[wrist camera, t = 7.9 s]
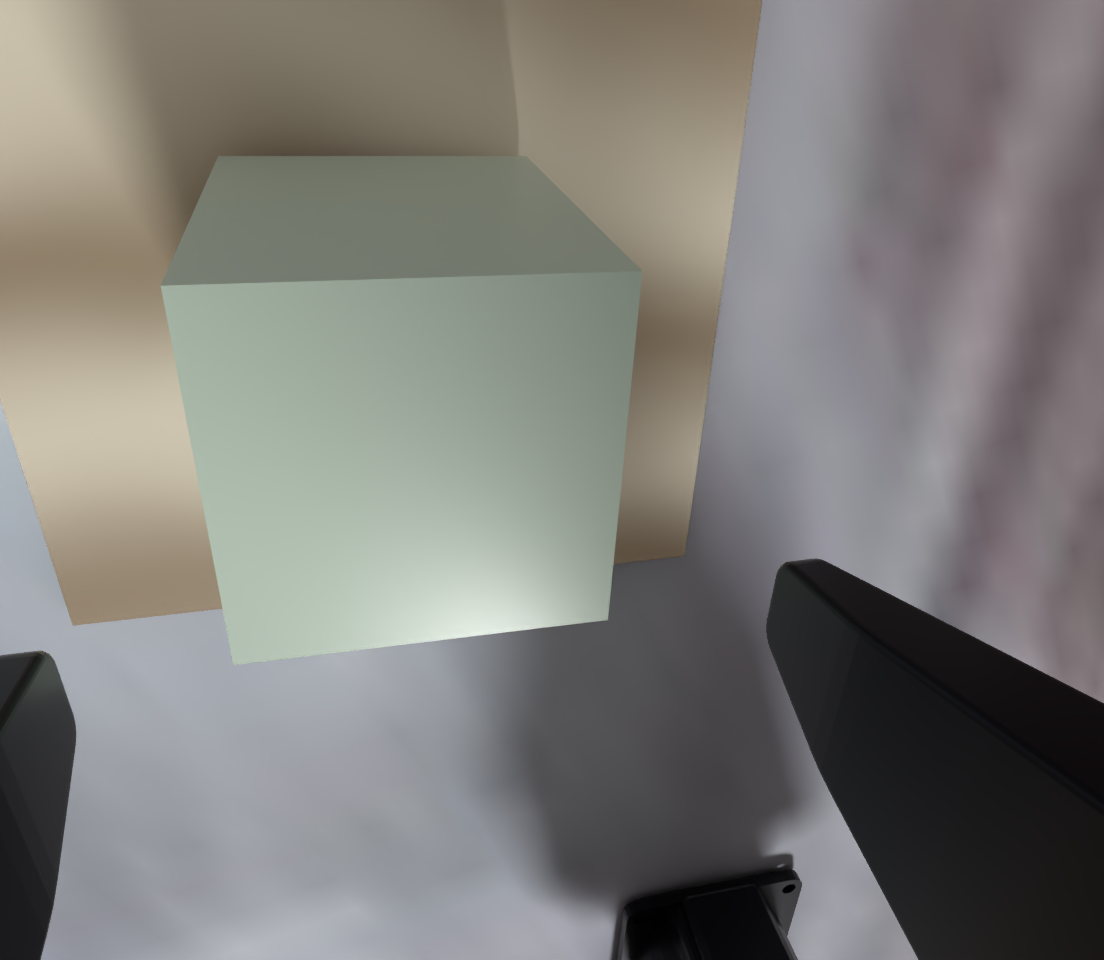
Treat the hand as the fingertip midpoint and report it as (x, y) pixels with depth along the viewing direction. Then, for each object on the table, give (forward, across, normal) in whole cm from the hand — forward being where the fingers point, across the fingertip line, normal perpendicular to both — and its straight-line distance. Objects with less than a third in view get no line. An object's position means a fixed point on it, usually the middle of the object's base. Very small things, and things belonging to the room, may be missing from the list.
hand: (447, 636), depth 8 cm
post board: (+10, 0, 0) cm, 10 cm away
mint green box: (+10, 0, 0) cm, 10 cm away
